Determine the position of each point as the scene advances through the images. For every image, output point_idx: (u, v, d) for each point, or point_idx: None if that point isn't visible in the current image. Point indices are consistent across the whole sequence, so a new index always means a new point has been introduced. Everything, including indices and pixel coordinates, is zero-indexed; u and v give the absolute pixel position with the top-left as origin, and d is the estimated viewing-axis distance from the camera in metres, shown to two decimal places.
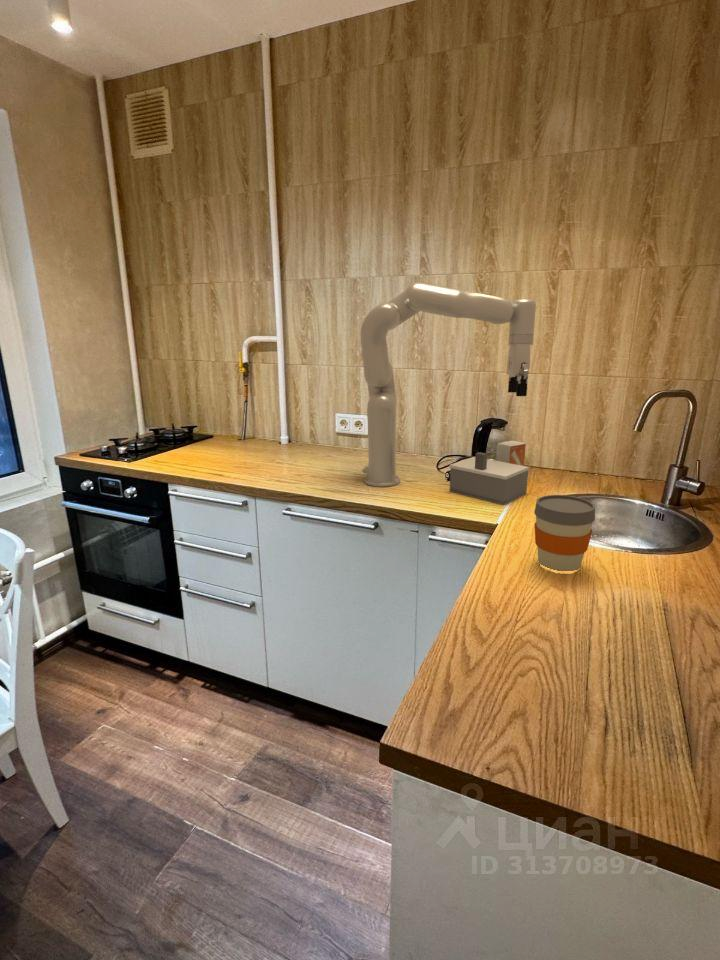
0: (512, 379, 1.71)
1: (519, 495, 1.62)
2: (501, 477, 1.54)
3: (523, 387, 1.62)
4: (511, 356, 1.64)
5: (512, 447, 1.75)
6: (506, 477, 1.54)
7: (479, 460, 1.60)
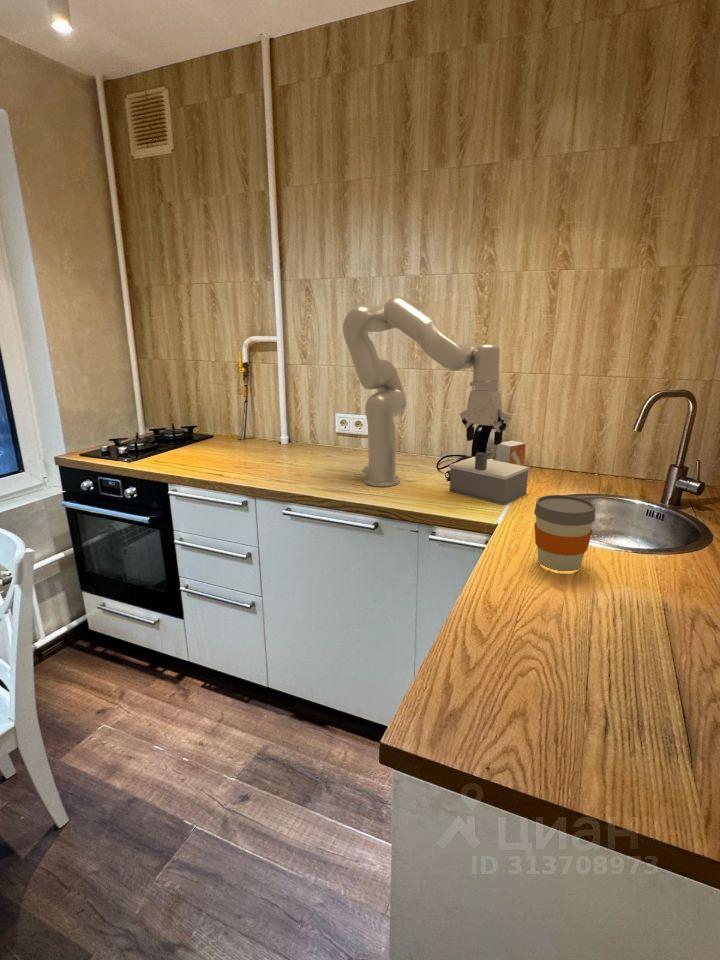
0: (470, 427, 1.61)
1: (519, 495, 1.62)
2: (501, 477, 1.54)
3: (501, 435, 1.54)
4: (482, 404, 1.53)
5: (512, 447, 1.75)
6: (506, 477, 1.54)
7: (479, 460, 1.60)
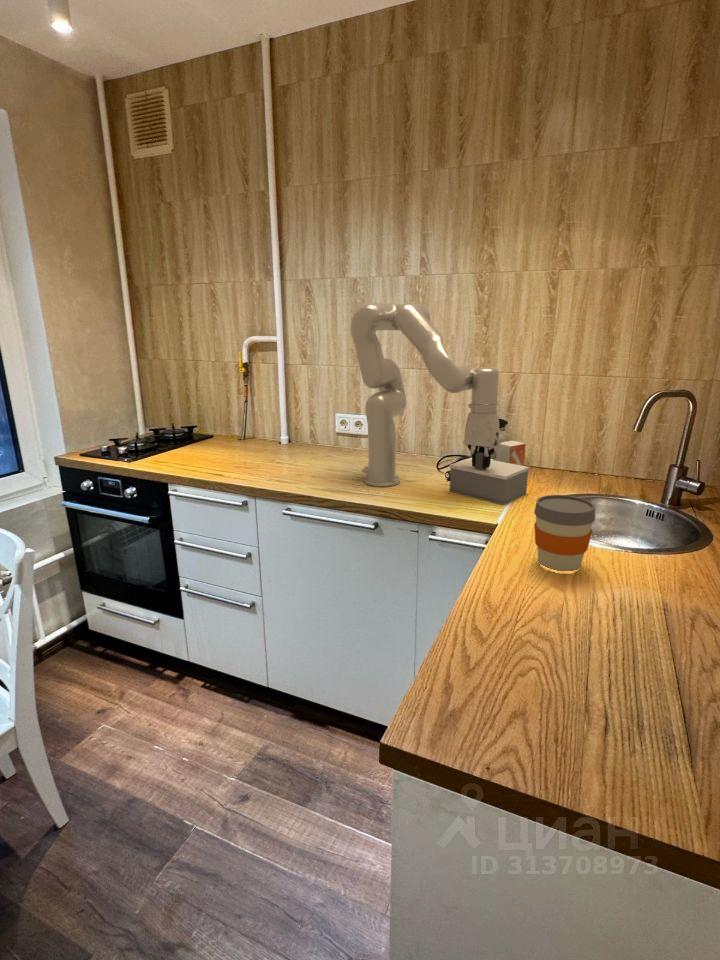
0: (475, 451, 1.61)
1: (519, 495, 1.62)
2: (501, 477, 1.54)
3: (489, 459, 1.59)
4: (480, 426, 1.55)
5: (512, 447, 1.75)
6: (506, 477, 1.54)
7: (479, 460, 1.60)
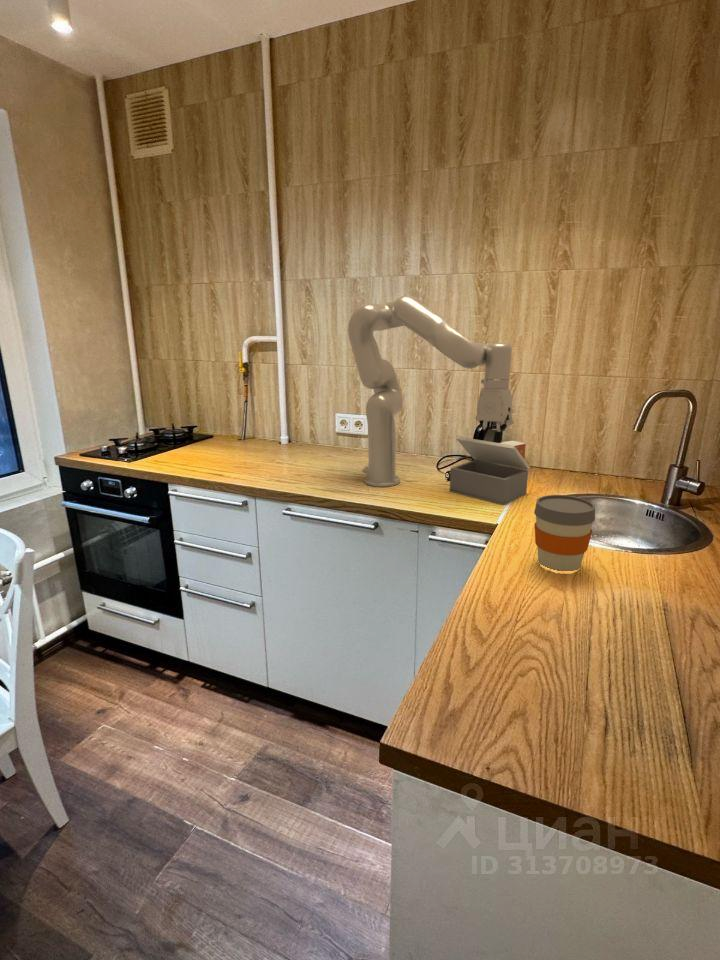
0: (487, 427, 1.63)
1: (519, 495, 1.62)
2: (509, 446, 1.54)
3: (501, 434, 1.61)
4: (492, 401, 1.57)
5: None
6: (514, 447, 1.54)
7: (490, 434, 1.62)
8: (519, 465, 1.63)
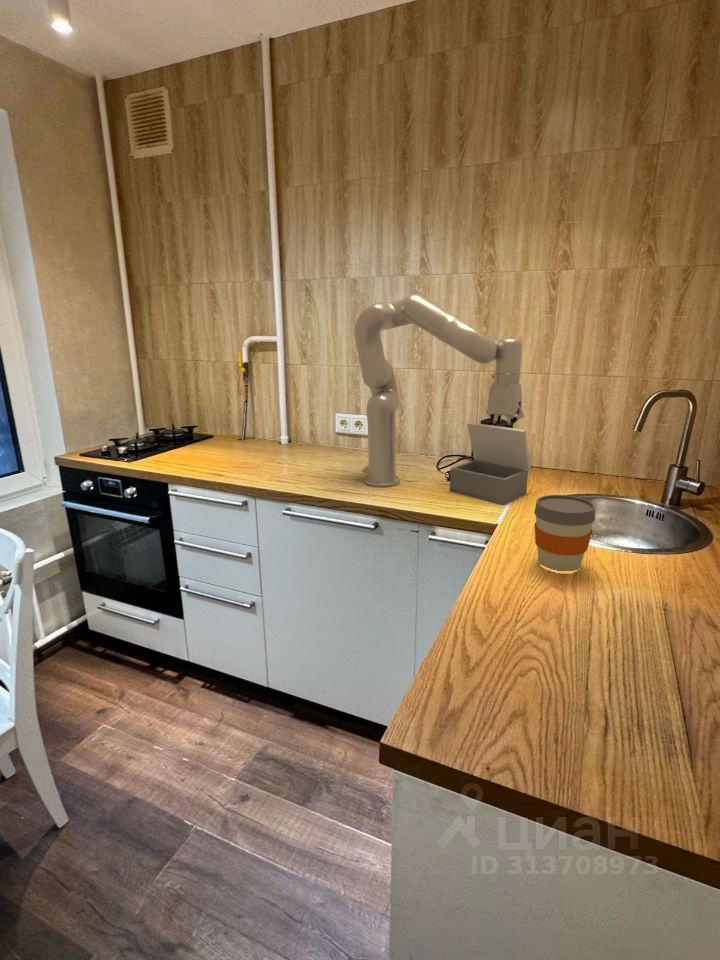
0: (498, 420, 1.67)
1: (519, 495, 1.62)
2: (520, 430, 1.57)
3: None
4: (503, 395, 1.61)
5: None
6: (524, 432, 1.56)
7: (501, 425, 1.65)
8: (520, 462, 1.64)
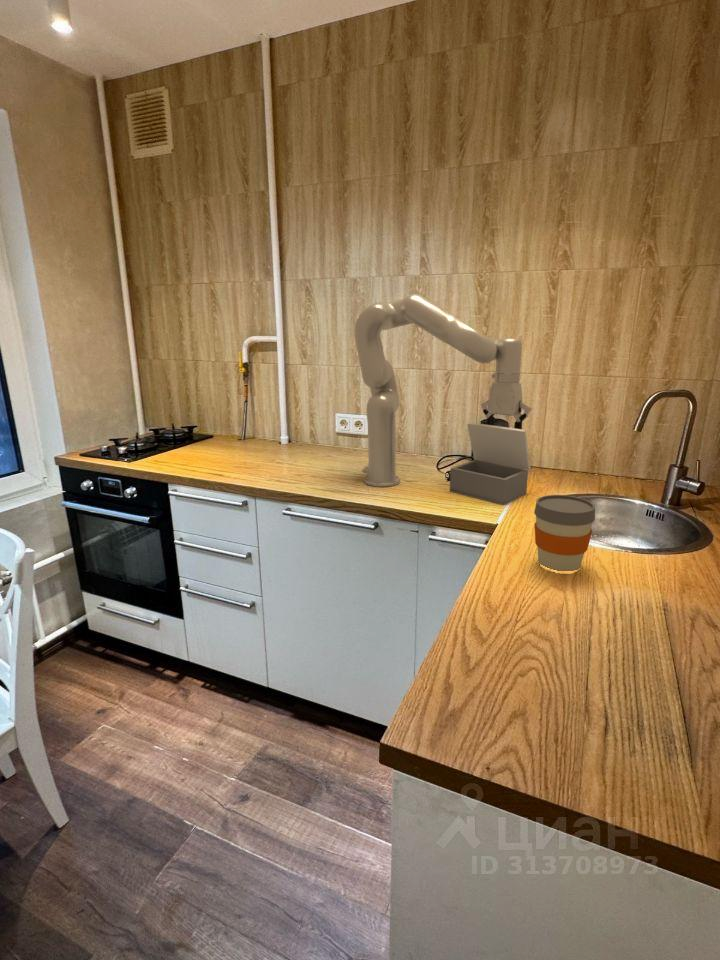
0: (490, 417, 1.69)
1: (519, 495, 1.62)
2: (520, 430, 1.57)
3: (521, 425, 1.63)
4: (503, 395, 1.62)
5: None
6: (525, 432, 1.56)
7: (501, 425, 1.65)
8: (520, 462, 1.64)
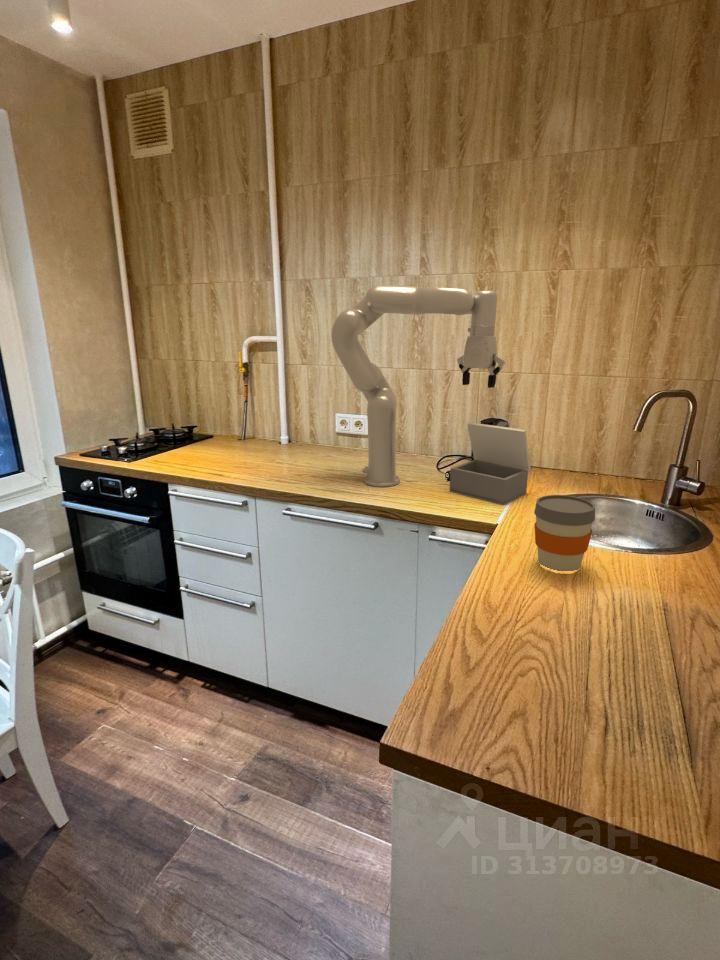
0: (466, 371, 1.70)
1: (519, 495, 1.62)
2: (520, 430, 1.57)
3: (494, 378, 1.64)
4: (478, 348, 1.62)
5: None
6: (525, 432, 1.56)
7: (501, 425, 1.65)
8: (520, 462, 1.64)
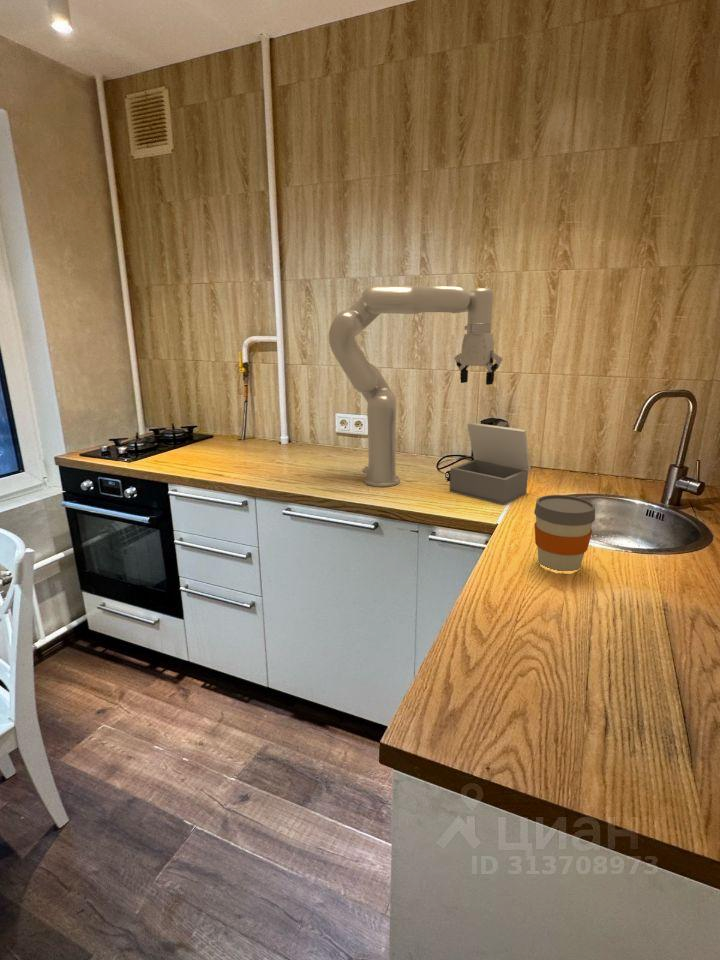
0: (464, 369, 1.70)
1: (519, 495, 1.62)
2: (520, 430, 1.57)
3: (492, 375, 1.64)
4: (475, 345, 1.63)
5: None
6: (525, 432, 1.56)
7: (501, 425, 1.65)
8: (520, 462, 1.64)
